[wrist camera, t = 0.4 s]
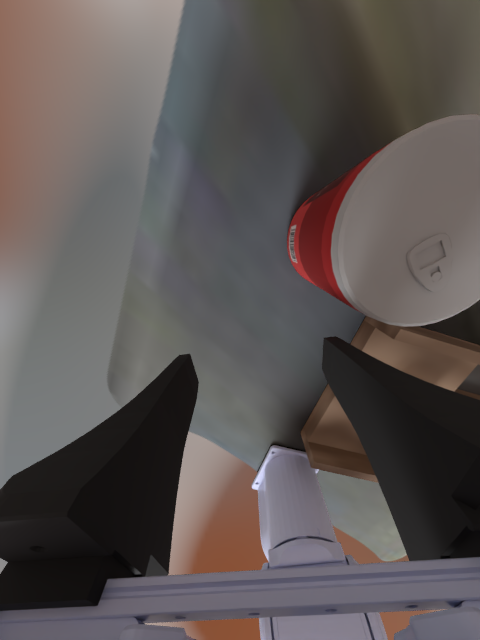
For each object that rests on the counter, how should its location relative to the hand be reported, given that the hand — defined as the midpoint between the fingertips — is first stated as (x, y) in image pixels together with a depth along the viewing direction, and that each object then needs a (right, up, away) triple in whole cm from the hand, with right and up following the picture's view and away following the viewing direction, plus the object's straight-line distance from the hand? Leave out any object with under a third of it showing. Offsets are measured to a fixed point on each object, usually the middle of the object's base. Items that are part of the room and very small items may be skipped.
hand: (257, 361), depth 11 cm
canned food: (+7, +10, +8) cm, 14 cm away
